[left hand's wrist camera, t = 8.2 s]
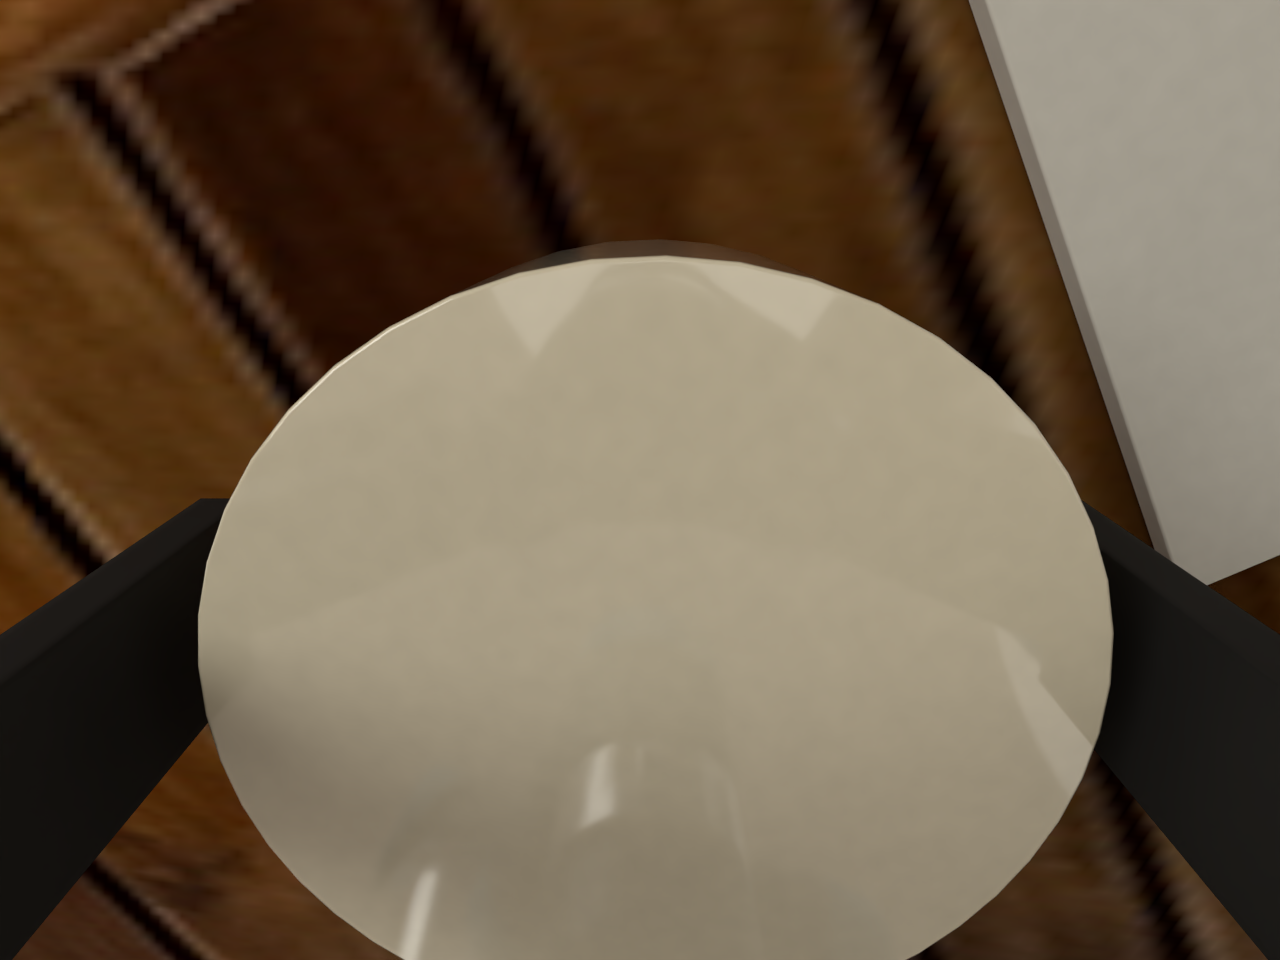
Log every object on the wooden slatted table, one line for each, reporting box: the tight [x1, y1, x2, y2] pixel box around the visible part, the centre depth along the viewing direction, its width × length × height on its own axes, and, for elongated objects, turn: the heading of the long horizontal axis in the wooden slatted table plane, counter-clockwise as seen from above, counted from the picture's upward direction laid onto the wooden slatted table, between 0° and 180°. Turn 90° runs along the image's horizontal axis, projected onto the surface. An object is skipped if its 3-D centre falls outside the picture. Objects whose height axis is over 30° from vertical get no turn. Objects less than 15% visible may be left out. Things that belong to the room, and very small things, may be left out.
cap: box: [198, 239, 1114, 960], centre depth 11 cm, size 11×11×4 cm
